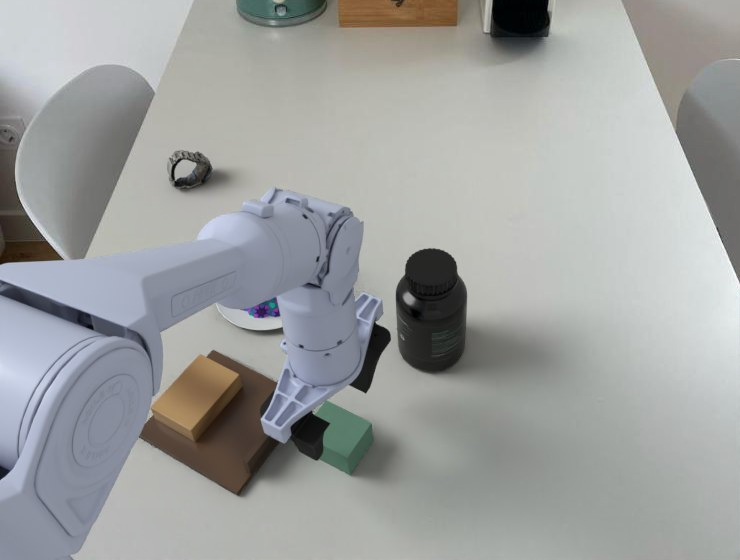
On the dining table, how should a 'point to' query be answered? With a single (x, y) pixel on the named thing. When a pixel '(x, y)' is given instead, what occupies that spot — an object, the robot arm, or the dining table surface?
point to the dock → (214, 420)
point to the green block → (344, 437)
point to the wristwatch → (197, 175)
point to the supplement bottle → (431, 311)
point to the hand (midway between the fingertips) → (335, 418)
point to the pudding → (254, 315)
